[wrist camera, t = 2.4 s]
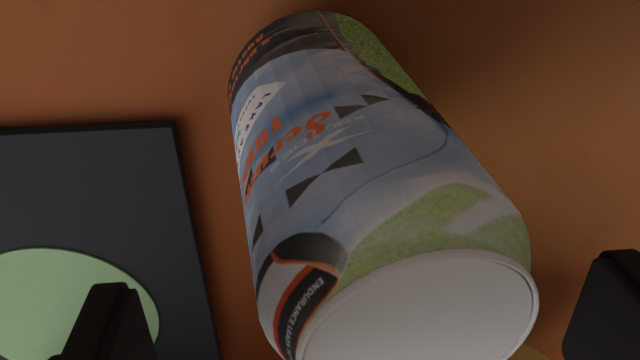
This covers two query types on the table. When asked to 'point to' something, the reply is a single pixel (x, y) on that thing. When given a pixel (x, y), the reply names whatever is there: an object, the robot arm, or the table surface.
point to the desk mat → (98, 236)
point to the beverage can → (368, 207)
